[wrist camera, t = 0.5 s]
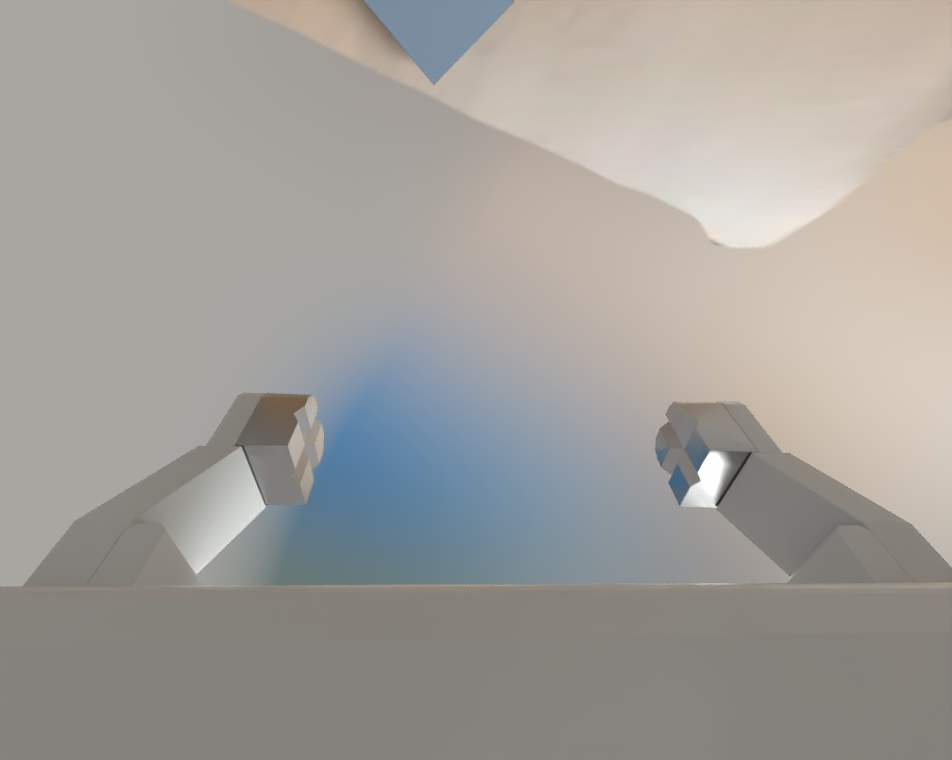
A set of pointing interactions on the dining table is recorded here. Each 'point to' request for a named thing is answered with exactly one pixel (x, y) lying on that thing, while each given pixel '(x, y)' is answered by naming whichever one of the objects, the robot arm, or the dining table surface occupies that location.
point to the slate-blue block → (437, 28)
